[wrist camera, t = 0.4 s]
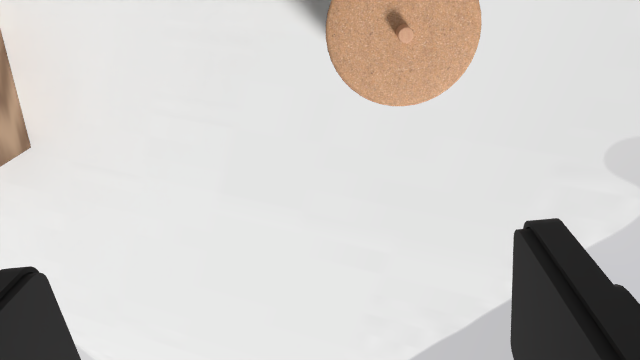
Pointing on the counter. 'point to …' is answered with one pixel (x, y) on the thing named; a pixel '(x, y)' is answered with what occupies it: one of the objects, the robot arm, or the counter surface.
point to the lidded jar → (402, 46)
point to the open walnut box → (10, 114)
